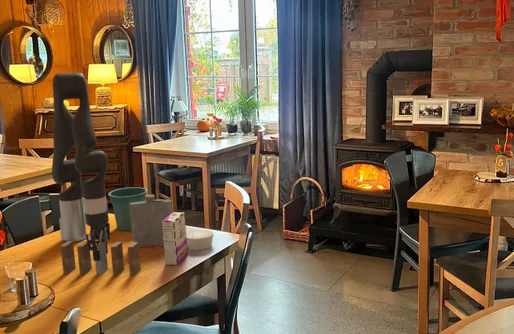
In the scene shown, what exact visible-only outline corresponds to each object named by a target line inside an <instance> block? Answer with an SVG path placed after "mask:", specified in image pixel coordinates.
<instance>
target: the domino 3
mask: <svg viewBox="0 0 514 334" xmlns="http://www.w3.org/2000/svg"><path fill="white" fill-rule="evenodd" d="M96 247H97V243H96ZM99 250H100V260H99V261H94V263H95V265H94V266H95V272H96V275H104V273H105V272H107V270H108V269H109V264H108V253H106V243H105V242H101V243H100V246H99Z"/></svg>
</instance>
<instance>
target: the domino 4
mask: <svg viewBox="0 0 514 334" xmlns="http://www.w3.org/2000/svg"><path fill="white" fill-rule="evenodd" d="M123 249H124V248H123V241H116V242H114V243H113V244H112V245H111V246H110V254H111V255H110V257H111V266H112V267H111V268H112V275H114V276H119V275H121V273H123V272H124V270H125V262H124V261H125V260H124V250H123Z"/></svg>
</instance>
